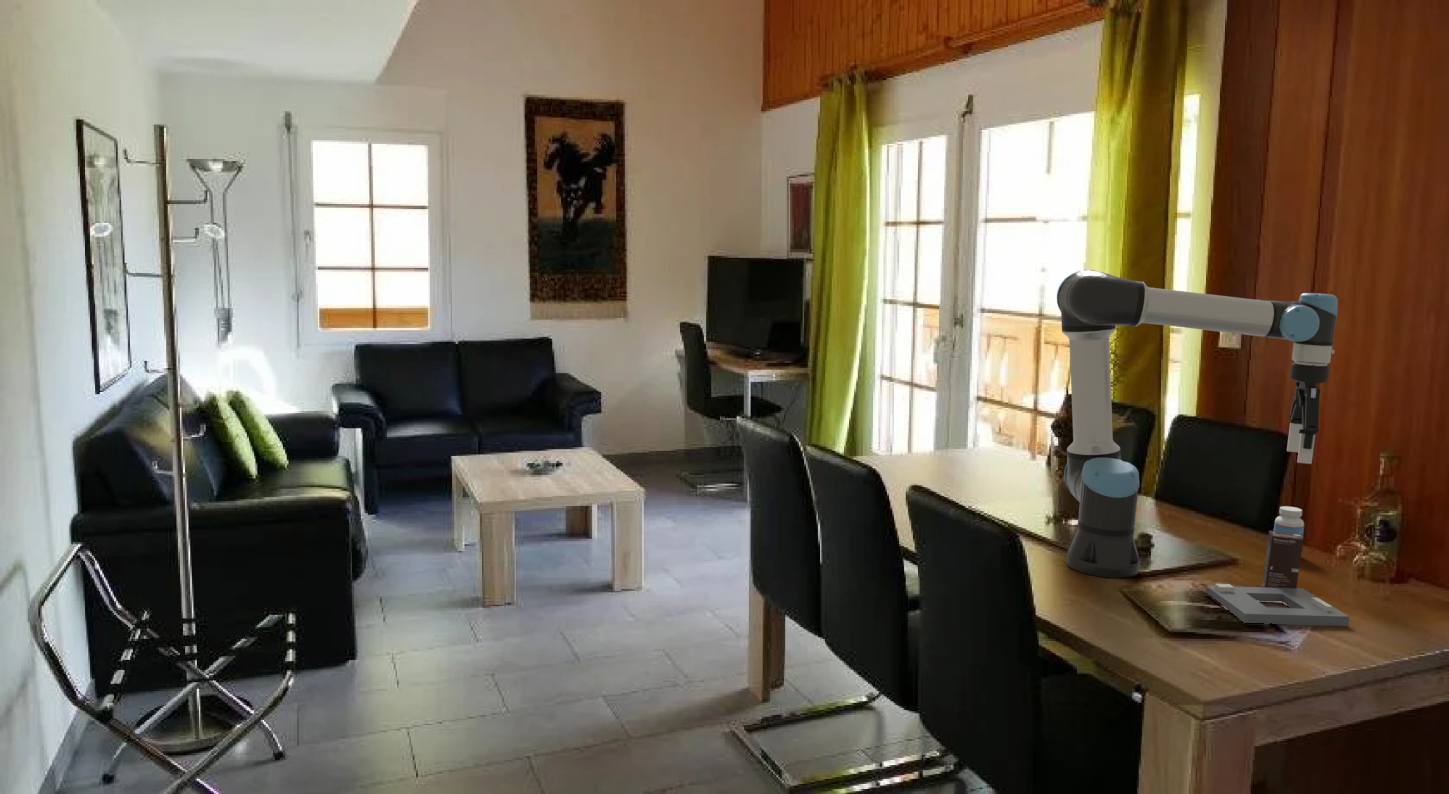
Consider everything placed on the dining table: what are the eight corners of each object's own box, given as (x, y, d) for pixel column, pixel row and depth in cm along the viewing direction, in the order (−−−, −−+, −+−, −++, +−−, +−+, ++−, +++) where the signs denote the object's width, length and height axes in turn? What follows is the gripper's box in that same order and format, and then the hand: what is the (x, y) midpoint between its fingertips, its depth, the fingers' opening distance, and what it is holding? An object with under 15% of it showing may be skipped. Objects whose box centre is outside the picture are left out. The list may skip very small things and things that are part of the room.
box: (1265, 591, 222) (1271, 535, 220) (1261, 584, 226) (1267, 529, 224) (1297, 594, 220) (1304, 538, 218) (1293, 588, 224) (1299, 533, 222)
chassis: (1244, 623, 202) (1245, 608, 201) (1205, 595, 217) (1206, 581, 217) (1348, 626, 202) (1350, 611, 202) (1301, 597, 218) (1303, 583, 217)
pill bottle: (1304, 560, 244) (1309, 513, 242) (1275, 558, 245) (1281, 510, 244) (1295, 552, 250) (1301, 506, 248) (1267, 550, 251) (1273, 504, 250)
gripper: (1342, 371, 222) (1328, 470, 226) (1318, 359, 246) (1307, 448, 249) (1302, 368, 225) (1289, 466, 228) (1282, 356, 248) (1271, 445, 251)
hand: (1298, 457), depth 238 cm, fingers open, 13 cm apart
